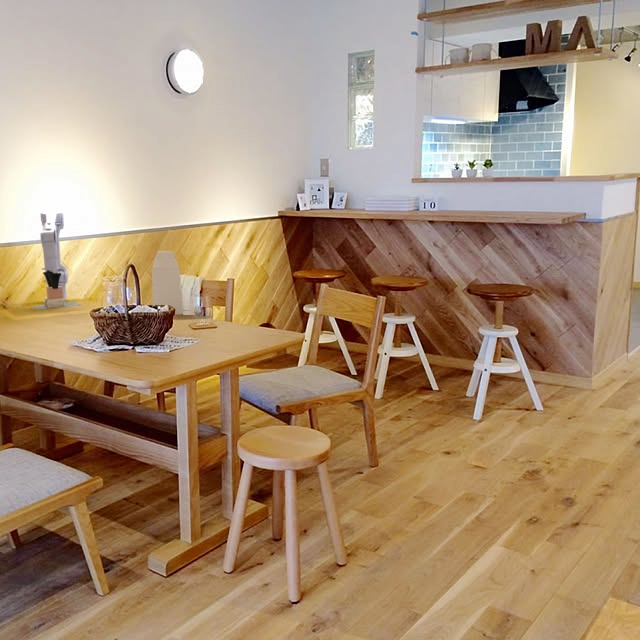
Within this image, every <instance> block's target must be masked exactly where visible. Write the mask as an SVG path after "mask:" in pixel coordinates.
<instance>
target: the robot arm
mask: <svg viewBox="0 0 640 640" xmlns="http://www.w3.org/2000/svg"><path fill="white" fill-rule="evenodd" d="M64 219H65V218H64V211H63V210H62V209H60V210H59V209H58V210H55V209H54V210H53V209H52V210H51V209H50V210H48V209H47V210H43V209H42V210H41V211H40V221H41V225H42V231H40V234H39V235H40V242H41V247H42V252H43V262H44V263H43V265H44V267H41V270H45V271H44V272H42V273H43V275H44V278H45V284H46V285H47V287H52V288H53V289H58V286H61V287H62V288H63V298H64V302H65V301H68V300H67V288H66V287H67V286H66V285H67V284H68V283H69V274H68V268H67V267H66V266H65V265H63V264H62V263H61V260H62V259H61V246H60V243H61V242H60V232H61V230H63V229H64V226H65V224H64V223H65V221H64Z"/></svg>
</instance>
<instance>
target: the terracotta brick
mask: <svg viewBox="0 0 640 640" xmlns="http://www.w3.org/2000/svg"><path fill="white" fill-rule="evenodd" d="M46 298H48V299H59V298H63V288H62V287H61V286H58V289H53V288H52V287H49V286H47V287H46Z"/></svg>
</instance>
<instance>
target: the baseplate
mask: <svg viewBox="0 0 640 640" xmlns="http://www.w3.org/2000/svg"><path fill="white" fill-rule="evenodd" d="M80 306H82V304H80V303H78V302H76V301H72V302H65V306H61V307H51V308H48V307H46V306H45V304H41V305H32V306H31V307H32V308H34V309H36V310H38V311H39V310H47V309H58V308H67V307H80Z"/></svg>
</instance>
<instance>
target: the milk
mask: <svg viewBox="0 0 640 640" xmlns="http://www.w3.org/2000/svg"><path fill="white" fill-rule="evenodd" d="M151 283H152V284H151V286H152V287H151V288H152V291H151V292H152V294H151V295H152V307H153V306H155V305H170V306H172V307H174V308H175V309H176V312H175V315H183V313H184V311H185V309H184V301H183V289H182V280H181V272H180V266H179V263H178V260H177V258H176V256H175V253H174V252H173V250H158V251H157V253H156V254H155V257H154V260H153V265H152V268H151Z"/></svg>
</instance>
